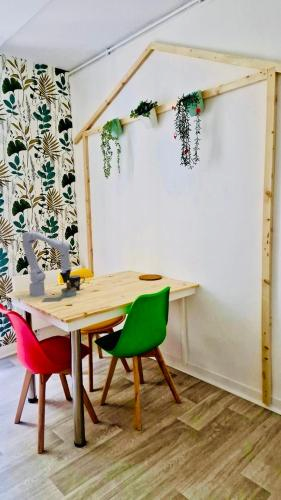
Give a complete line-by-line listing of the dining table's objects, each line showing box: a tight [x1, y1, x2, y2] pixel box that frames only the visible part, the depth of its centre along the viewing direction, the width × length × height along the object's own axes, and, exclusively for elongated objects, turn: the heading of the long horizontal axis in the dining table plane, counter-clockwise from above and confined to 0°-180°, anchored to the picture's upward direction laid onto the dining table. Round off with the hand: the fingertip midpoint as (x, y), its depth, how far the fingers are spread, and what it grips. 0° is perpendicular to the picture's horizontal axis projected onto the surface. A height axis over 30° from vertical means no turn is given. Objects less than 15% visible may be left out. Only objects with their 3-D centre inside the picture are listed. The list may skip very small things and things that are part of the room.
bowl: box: [61, 291, 77, 298], centre depth 225 cm, size 9×9×4 cm
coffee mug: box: [68, 274, 85, 292], centre depth 240 cm, size 12×9×10 cm
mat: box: [41, 296, 64, 303], centre depth 215 cm, size 12×10×1 cm
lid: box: [60, 281, 77, 293], centre depth 225 cm, size 10×10×5 cm
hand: (66, 281), depth 223 cm, fingers open, 7 cm apart
